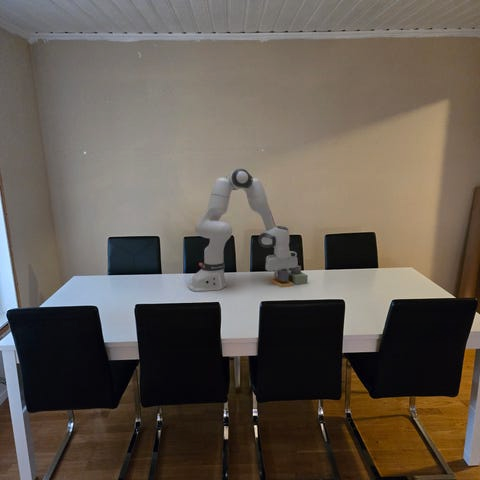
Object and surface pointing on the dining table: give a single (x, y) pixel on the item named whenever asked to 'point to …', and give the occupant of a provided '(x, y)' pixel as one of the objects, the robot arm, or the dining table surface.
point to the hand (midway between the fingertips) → (281, 276)
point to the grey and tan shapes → (293, 278)
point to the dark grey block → (283, 275)
